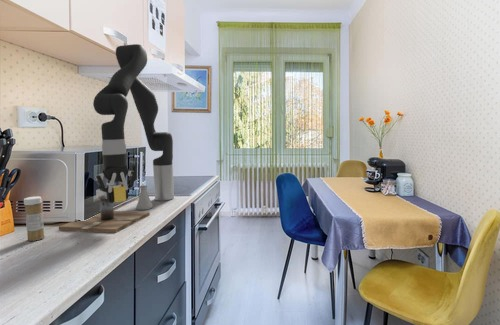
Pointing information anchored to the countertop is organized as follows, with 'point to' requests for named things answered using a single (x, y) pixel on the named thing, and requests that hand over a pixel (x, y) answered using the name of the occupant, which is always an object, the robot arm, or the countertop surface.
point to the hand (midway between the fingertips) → (117, 201)
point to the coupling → (117, 191)
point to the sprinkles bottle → (34, 218)
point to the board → (106, 222)
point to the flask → (144, 199)
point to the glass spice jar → (106, 210)
